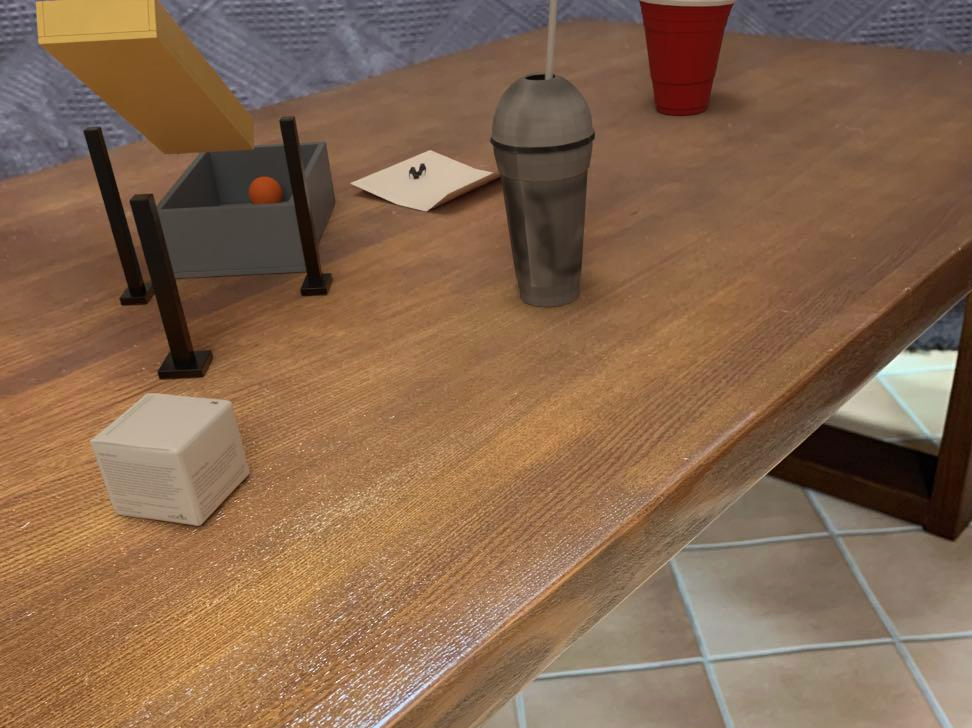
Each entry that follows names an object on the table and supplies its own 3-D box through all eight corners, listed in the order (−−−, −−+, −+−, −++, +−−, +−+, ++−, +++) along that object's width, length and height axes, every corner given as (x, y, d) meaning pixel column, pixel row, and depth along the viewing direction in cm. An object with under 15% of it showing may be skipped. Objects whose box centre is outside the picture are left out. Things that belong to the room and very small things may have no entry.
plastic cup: (752, 108, 120) (760, -11, 113) (677, 127, 115) (680, 4, 108) (688, 91, 127) (692, -22, 120) (615, 108, 123) (615, -9, 116)
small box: (167, 462, 64) (146, 388, 61) (253, 474, 62) (235, 398, 59) (110, 516, 59) (84, 439, 56) (201, 530, 58) (179, 451, 55)
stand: (299, 372, 72) (261, 181, 65) (63, 384, 73) (-2, 195, 65) (332, 279, 85) (304, 111, 78) (132, 290, 86) (84, 123, 78)
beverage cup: (487, 287, 83) (464, -1, 71) (573, 268, 85) (565, -13, 73) (523, 322, 77) (505, 17, 65) (614, 301, 79) (612, 2, 68)
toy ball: (247, 202, 99) (237, 187, 96) (269, 179, 99) (260, 164, 96) (270, 223, 99) (261, 209, 96) (293, 199, 99) (284, 185, 96)
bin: (306, 272, 87) (294, 204, 84) (168, 279, 87) (151, 212, 84) (335, 201, 101) (326, 141, 98) (216, 207, 101) (203, 147, 98)
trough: (156, 37, 61) (147, -114, 61) (38, 44, 61) (28, -107, 61) (254, 149, 81) (247, 36, 81) (164, 154, 81) (157, 41, 81)
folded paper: (431, 161, 110) (429, 141, 109) (527, 178, 104) (526, 157, 103) (349, 195, 102) (346, 174, 101) (448, 216, 96) (446, 194, 95)
